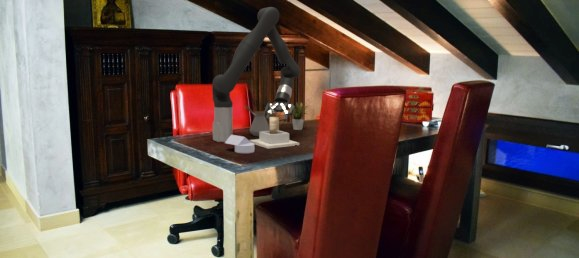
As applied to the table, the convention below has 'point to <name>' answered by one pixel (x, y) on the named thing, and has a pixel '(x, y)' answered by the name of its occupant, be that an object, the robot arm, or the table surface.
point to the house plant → (298, 120)
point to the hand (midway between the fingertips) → (276, 120)
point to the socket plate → (273, 140)
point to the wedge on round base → (241, 144)
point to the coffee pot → (258, 122)
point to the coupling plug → (274, 125)
